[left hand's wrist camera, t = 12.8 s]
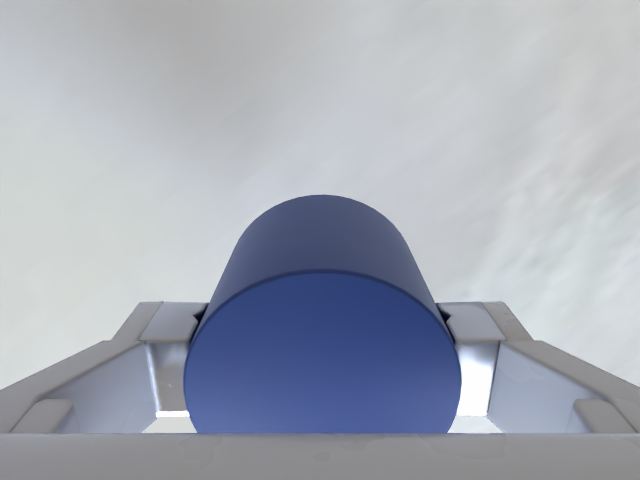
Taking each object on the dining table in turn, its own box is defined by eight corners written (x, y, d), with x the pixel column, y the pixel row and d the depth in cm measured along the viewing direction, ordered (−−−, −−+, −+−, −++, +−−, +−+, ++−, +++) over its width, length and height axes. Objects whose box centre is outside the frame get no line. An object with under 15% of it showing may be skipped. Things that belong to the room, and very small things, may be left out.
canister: (237, 179, 11) (189, 248, 7) (435, 210, 11) (499, 293, 7) (221, 348, 13) (176, 480, 9) (392, 371, 13) (424, 510, 9)
